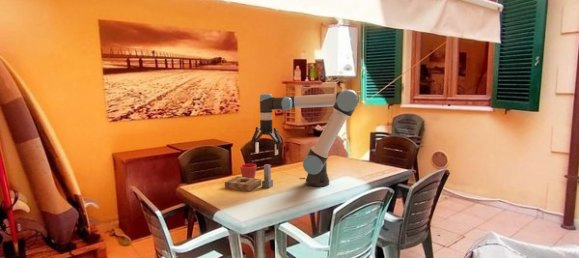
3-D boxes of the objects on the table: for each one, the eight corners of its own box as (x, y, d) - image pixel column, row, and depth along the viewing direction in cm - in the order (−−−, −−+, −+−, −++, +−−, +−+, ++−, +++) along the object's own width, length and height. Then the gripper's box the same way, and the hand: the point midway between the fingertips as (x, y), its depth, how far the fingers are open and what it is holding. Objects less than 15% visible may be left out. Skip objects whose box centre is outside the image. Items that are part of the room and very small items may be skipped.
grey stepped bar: (273, 186, 216) (272, 164, 215) (269, 188, 212) (268, 166, 210) (266, 185, 218) (265, 163, 217) (262, 187, 214) (261, 165, 212)
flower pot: (254, 181, 226) (253, 167, 225) (238, 181, 229) (237, 166, 227) (258, 177, 237) (258, 163, 235) (243, 176, 239) (243, 163, 238)
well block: (261, 185, 218) (261, 179, 218) (249, 191, 206) (249, 185, 205) (237, 182, 226) (237, 176, 225) (224, 188, 213) (224, 181, 213)
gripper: (287, 119, 208) (287, 154, 211) (251, 118, 218) (252, 151, 221) (281, 120, 201) (282, 156, 204) (245, 119, 212) (246, 153, 214)
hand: (266, 153), depth 213 cm, fingers open, 13 cm apart
